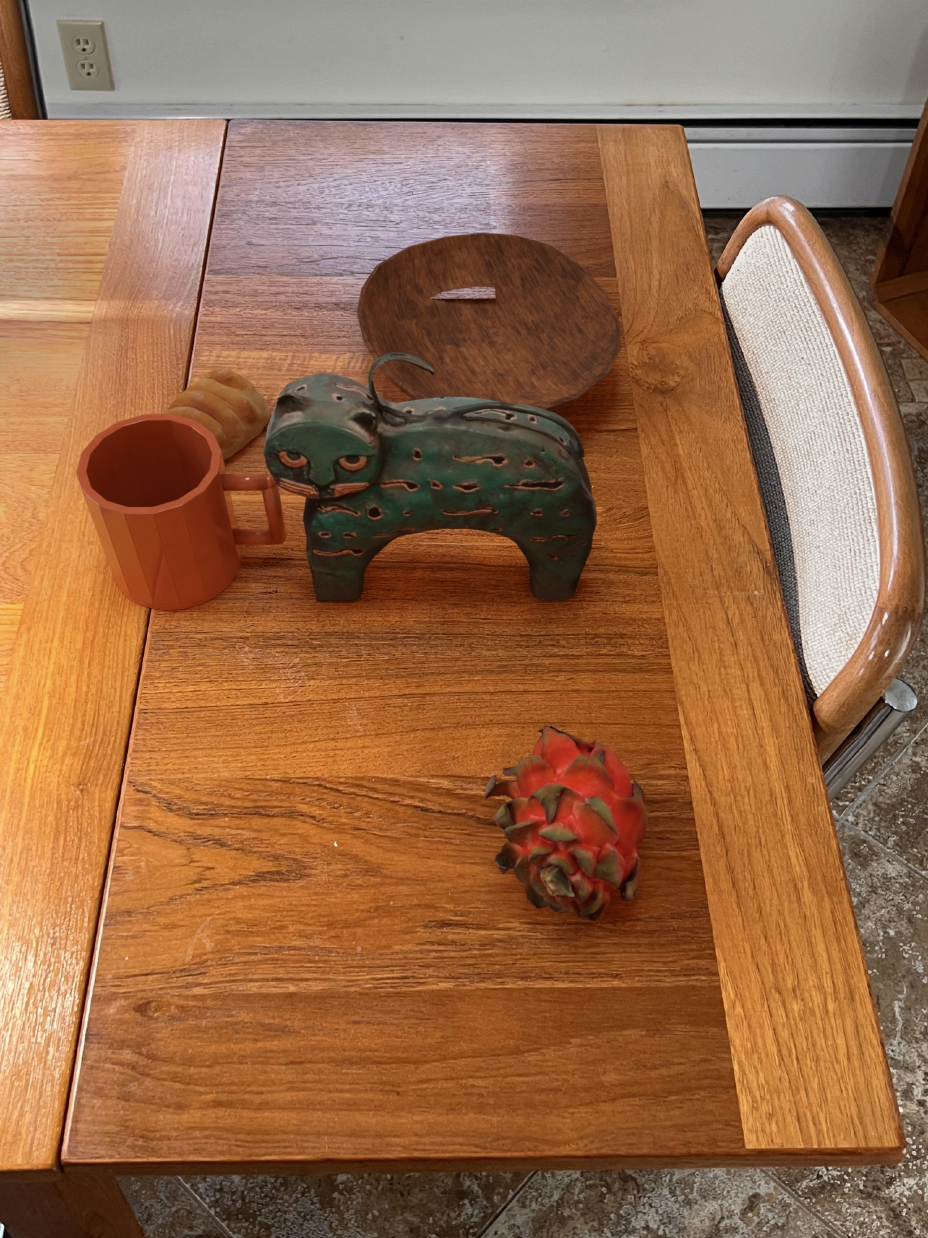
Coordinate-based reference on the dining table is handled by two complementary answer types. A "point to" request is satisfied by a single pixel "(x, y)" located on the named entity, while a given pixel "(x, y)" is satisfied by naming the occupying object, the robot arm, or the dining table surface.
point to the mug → (170, 509)
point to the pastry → (224, 408)
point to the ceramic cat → (428, 477)
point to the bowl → (490, 321)
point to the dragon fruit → (571, 825)
